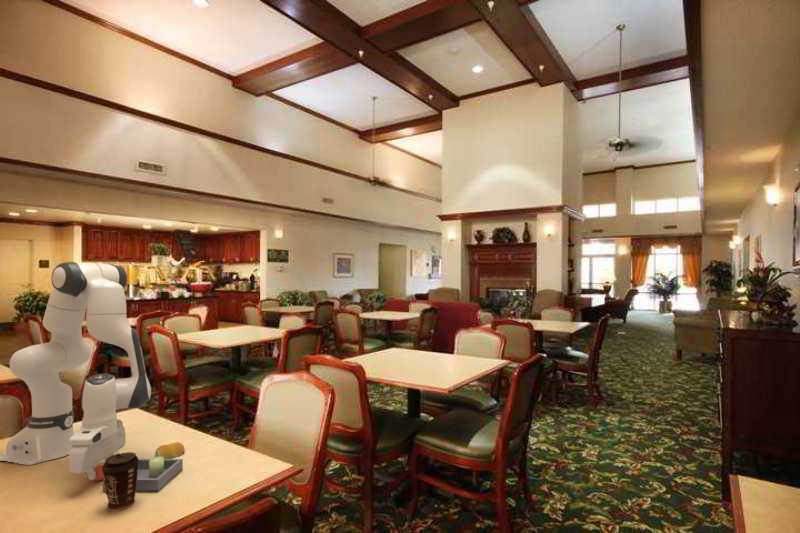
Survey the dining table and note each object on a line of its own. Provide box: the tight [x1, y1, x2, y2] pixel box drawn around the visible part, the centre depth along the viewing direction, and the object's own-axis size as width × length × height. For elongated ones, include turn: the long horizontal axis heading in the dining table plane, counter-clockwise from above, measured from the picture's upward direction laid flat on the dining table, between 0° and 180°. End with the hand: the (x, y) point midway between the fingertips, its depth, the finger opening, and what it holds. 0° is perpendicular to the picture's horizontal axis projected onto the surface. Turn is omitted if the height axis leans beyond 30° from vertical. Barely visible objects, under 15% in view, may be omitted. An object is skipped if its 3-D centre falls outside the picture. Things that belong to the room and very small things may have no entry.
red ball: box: [92, 464, 105, 482], centre depth 134 cm, size 4×4×4 cm
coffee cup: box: [102, 451, 140, 512], centre depth 120 cm, size 9×8×13 cm
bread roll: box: [154, 441, 186, 459], centre depth 152 cm, size 8×9×4 cm
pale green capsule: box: [149, 456, 164, 478], centre depth 135 cm, size 4×4×5 cm
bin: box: [102, 458, 184, 493], centre depth 133 cm, size 16×14×4 cm
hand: (99, 474), depth 134 cm, fingers closed on red ball, 4 cm apart
